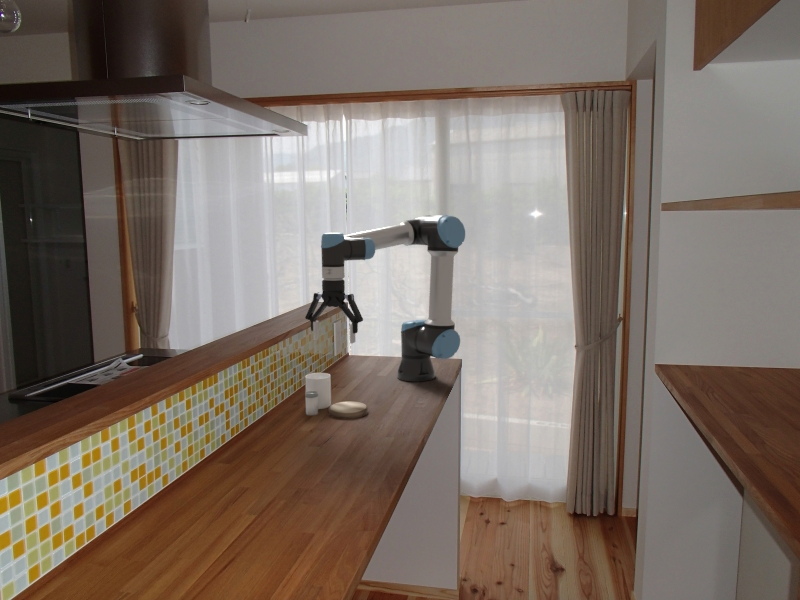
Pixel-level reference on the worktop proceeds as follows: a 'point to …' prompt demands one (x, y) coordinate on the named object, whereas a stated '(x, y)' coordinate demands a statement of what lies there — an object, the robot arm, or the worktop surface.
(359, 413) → the beige flat disc
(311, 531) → the worktop surface
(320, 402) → the mug
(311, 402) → the spice jar
